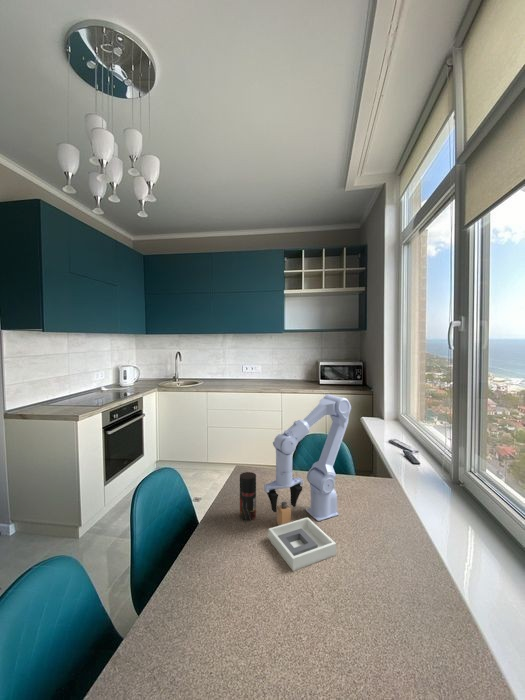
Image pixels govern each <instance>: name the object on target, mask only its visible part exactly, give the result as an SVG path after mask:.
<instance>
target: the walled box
mask: <svg viewBox="0 0 525 700" xmlns="http://www.w3.org/2000/svg"><path fill="white" fill-rule="evenodd" d="M301 528H302V529H303V530H304V531H305V533H306V534H307V535H308V536H309V537H310V538H311V539H312V540H313V541H314V542H315V543H316V544H317V545H318V548H315V549H313V550H310V551H307V552H304V553H301V554H298V555H296V556H294V555H293V554H292V553H291V552H290V551H289V549H288V548H287V547H286V546H285V545H284V543H283V542H282V541H281V540H280V538H279V537H278V535H282V534H285V533H288V532H291V531H295V530H298V529H301ZM268 541H270V543H271V544H272V546H273V547H274V549H275V550H276V551H277V552H278V554H279V555H280V556H281V558H282V559H283V560H284V561H285V563H286V564H287V565H288V567H289V568H290V569H291V570H292V572H294V571H298V570H300V569H302V568H305V567H307V566H310V565H311V566H312V565H313V564H315V563H316V564H317V563H319V562H322V561H323V560H327V559H329V558H332V557H335V556H337V543H336V542H335V540H333V539H332V537H330V536H329V535H328V534H327V533H325V531H323V530H322V529H321V528H320V527H319V526H318V525H317V524H316V523H315V522H313V521H312V519H310V518H309V517H308V516H307V517H304V518H303V517H302V518H299V519H297V520H294V521H291V522H290V523H286V524H283V525H280V526H279V525H276V526H274V527H270V528H268ZM290 544H291V545H292V546H293V547H294V548H296V547H298V546H301V545H304V544H303V543H302V541H301V540H300V539H299V540H296V541H293V542H290Z"/></svg>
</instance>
